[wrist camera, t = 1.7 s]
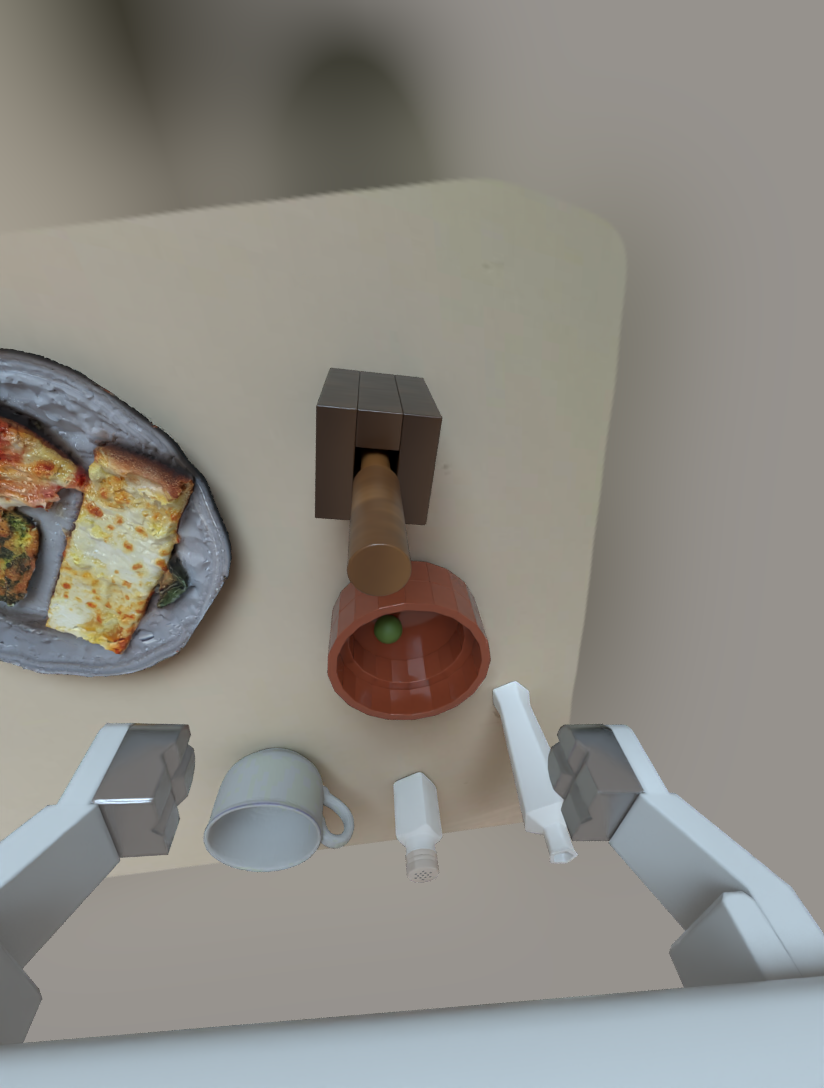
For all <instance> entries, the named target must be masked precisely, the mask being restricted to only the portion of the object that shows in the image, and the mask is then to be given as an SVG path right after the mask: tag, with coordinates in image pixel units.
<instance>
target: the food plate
mask: <svg viewBox="0 0 824 1088" xmlns="http://www.w3.org/2000/svg"><path fill="white" fill-rule="evenodd" d="M187 459H188V458H187V457H186V456H185V454H184V453H183V451H181V449H180V447H179V445H178V443H176V442H175V441H174V440H173V439H172V438H170V437H169V435H168V434H167V433H165V432H164V431H163V430H161V429H160V428H159V427H157V426H155V425H153V424H152V422H149V420H148V419H147V418H146V417H145V416H143V415H142V414H141V413H139V412H138V411H136V410H135V409H134V408H131V407H130V406H129V405H128V404H127V403H125V402H124V401H121V400H119V398H118V397H117V396H115V395H114V394H113V393H111V392H110V391H108V390H106V389H105V388H103V387H101V386H100V385H98V384H97V383H95V382H94V381H92V380H90V379H89V378H88V377H87V376H85V375H83V374H82V373H80V372H79V371H76V370H73V369H72V368H70V367H68V366H64V365H63V364H59V363H57V362H55V361H52V360H51V359H49V358H44V356H41V355H35V354H32V353H25V352H24V351H17V350H14V349H3V348H1V349H0V661H3V662H7V663H12V664H13V665H17V666H22V667H23V669H26V668H27V669H29V670H32V671H35V672H37V673H43V674H67V675H68V674H71V675H79V676H86V677H94V676H105V677H106V676H112V675H113V676H114V675H122V674H128V673H130V674H131V673H133V672H137V671H139V670H143V669H144V670H145V669H146V668H148V667H152V666H154V665H155V664H156V663H158V662H160V661H162V660H164V659H166V658H168V657H171V656H174V655H175V654H177V653H178V651H180V649H181V647H182V646H185V645H186V643H187V642H188V641H187V640H189V639H188V638H190V637H191V636H190V635H192V634H193V633H192V632H194V631H195V630H194V629H196V627H197V626H198V624H199V623H200V621H201V620H202V618H203V617H204V615H205V613H206V611H207V610H208V608H209V607H210V605H211V604H212V602H213V599H215V598H214V597H215V596H217V594H218V592H219V591H220V589H219V588H222V586H223V583H225V582H223V580H225V579H223V578H224V577H226V579H227V578H228V574H229V569H230V568H229V567H230V564H231V563H230V561H231V559H232V556H231V544H230V540H229V535H228V532H227V531H226V527H225V524H224V523H223V522H222V521H223V519H222V518H221V517H220V513H219V511H218V508H217V506H216V504H215V503H214V502H215V501H214V499H213V495H211V491H210V487H209V486H208V483H207V481H206V479H205V477H204V476H203V475H202V473H200V472H199V471H198V470H197V468H195V467H194V465H192V464H190V463H191V462H190V461H188V460H187ZM220 586H221V587H220ZM186 641H187V642H186ZM184 644H185V645H184ZM183 648H184V647H183ZM183 648H182V649H183ZM179 653H180V652H179Z"/></svg>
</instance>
